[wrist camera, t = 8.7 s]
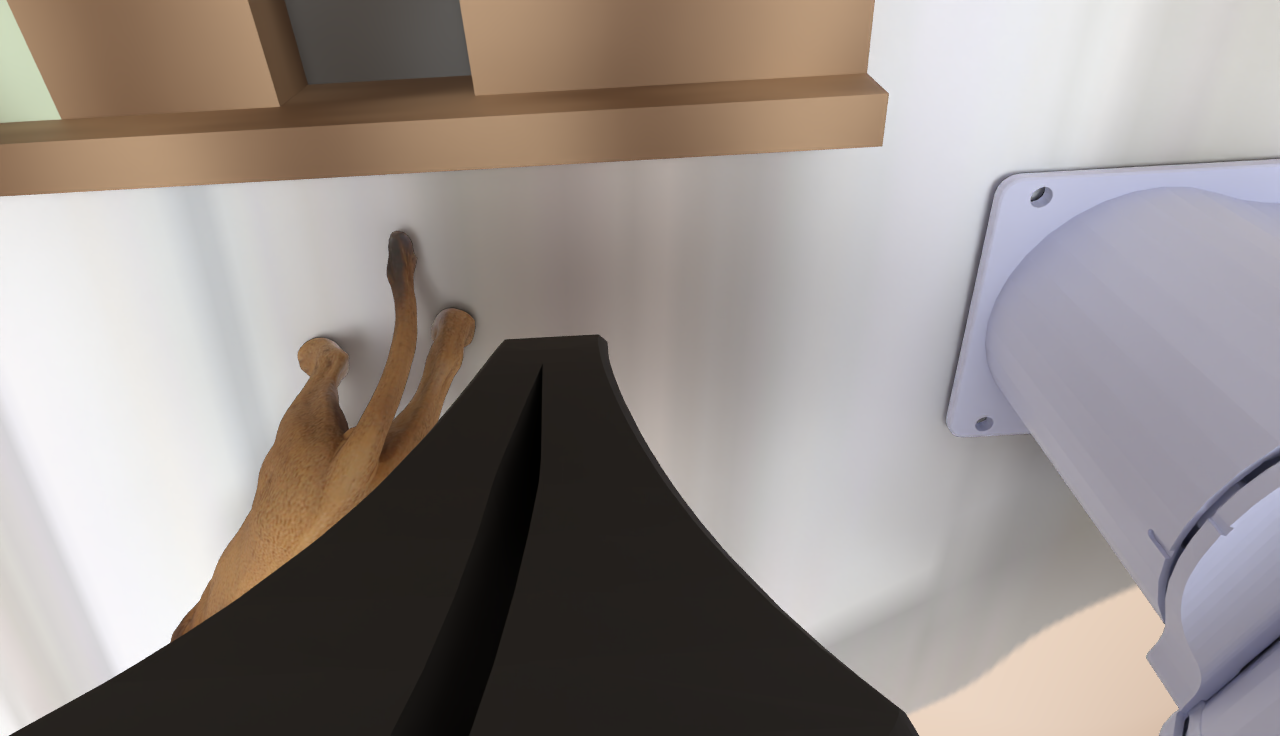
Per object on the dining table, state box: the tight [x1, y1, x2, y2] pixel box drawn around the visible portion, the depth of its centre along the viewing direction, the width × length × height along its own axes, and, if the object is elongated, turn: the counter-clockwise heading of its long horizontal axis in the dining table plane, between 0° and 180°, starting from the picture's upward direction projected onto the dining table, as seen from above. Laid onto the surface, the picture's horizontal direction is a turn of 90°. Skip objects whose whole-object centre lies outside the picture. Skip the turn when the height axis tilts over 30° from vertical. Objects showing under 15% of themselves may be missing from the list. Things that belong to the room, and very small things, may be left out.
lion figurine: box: [170, 231, 475, 643], centre depth 20 cm, size 15×5×9 cm, turn 160°
